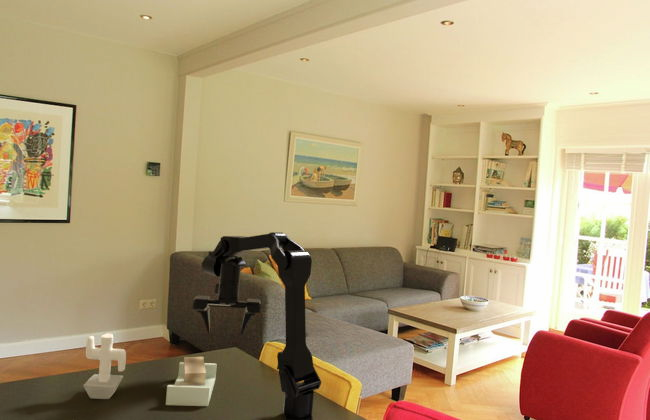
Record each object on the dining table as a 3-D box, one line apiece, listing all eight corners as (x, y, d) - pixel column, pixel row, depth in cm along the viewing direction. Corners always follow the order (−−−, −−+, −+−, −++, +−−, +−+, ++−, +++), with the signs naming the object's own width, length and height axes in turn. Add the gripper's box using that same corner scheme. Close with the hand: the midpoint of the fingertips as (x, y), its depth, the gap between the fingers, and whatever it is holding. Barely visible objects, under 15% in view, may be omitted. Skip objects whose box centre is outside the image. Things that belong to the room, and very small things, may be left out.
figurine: (118, 401, 114) (122, 340, 114) (76, 400, 113) (81, 338, 113) (127, 389, 122) (131, 331, 121) (88, 388, 120) (93, 329, 120)
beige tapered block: (202, 367, 130) (203, 356, 130) (204, 384, 119) (205, 373, 119) (183, 367, 129) (184, 357, 129) (184, 385, 117) (185, 373, 117)
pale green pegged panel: (215, 379, 133) (216, 363, 133) (207, 406, 116) (209, 388, 116) (178, 378, 132) (180, 362, 132) (165, 404, 115) (167, 386, 115)
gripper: (262, 276, 145) (258, 327, 145) (199, 272, 142) (195, 324, 143) (262, 283, 134) (257, 338, 134) (194, 279, 131) (190, 335, 132)
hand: (225, 333), depth 136 cm, fingers open, 9 cm apart
